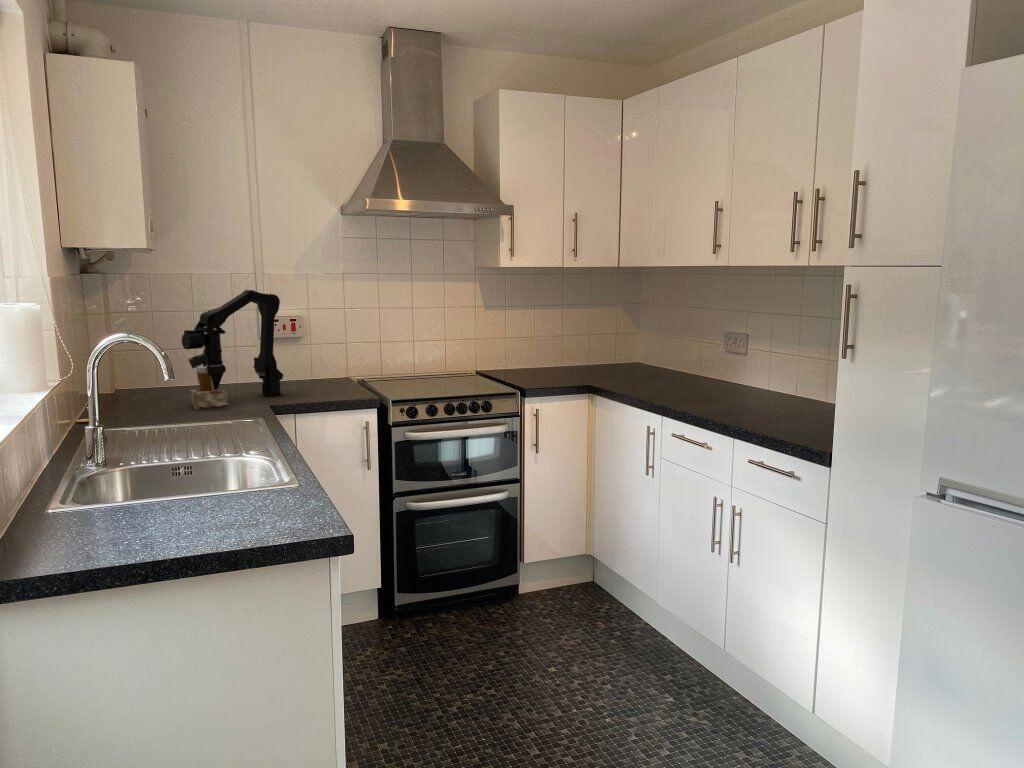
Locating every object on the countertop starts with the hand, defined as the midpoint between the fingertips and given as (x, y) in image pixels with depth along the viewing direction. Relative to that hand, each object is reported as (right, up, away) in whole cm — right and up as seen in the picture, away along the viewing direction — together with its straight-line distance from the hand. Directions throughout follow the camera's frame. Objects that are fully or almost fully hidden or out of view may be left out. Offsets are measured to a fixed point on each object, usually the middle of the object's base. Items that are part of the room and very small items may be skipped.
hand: (215, 388), depth 280 cm
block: (-1, -6, 0) cm, 6 cm away
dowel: (0, -2, 0) cm, 2 cm away
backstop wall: (-6, -6, -2) cm, 9 cm away
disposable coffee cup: (-8, -3, +16) cm, 18 cm away
